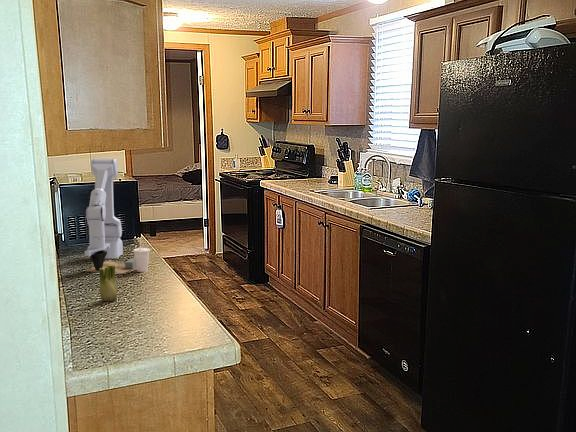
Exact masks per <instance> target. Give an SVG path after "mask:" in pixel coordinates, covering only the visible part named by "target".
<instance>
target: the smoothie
mask: <svg viewBox="0 0 576 432" xmlns="http://www.w3.org/2000/svg"><path fill="white" fill-rule="evenodd" d="M132 251H133V252H132V253H133V254H134V258H135V261H136V272H140V273H145V272H148V269H149V257H150V252H151V249H150V248H149V247H142V239H141V238H139V247H138V248H134V249H133V250H132Z"/></svg>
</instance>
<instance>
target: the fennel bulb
mask: <svg viewBox="0 0 576 432" xmlns="http://www.w3.org/2000/svg"><path fill="white" fill-rule="evenodd" d="M98 273H99V296H100V299H101V301H102V302H113V301H115V300H117V299H118V284H117V281H116V273H115V265H111V266H110V265H107V267H105V271H103V268H100V269H99V272H98Z"/></svg>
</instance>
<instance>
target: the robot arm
mask: <svg viewBox="0 0 576 432" xmlns="http://www.w3.org/2000/svg"><path fill="white" fill-rule="evenodd" d="M118 164H119V163H118V159H116V158H92V159H91V160H90V170H91V172H92V174H93V176H94V177H95V178H94V189H92V191H91V192H90V199H89V205H88V206H86V210H85V217H86V220H87V223H86V224H87V226H88V236H89V237H88V238H89V246H87V249H85V250H84V256H85V257H89V258H90V259H91V261H92V263H93V267H95V270H99V269H100V268H102V267H103V263H104V262H105V259H109V260H111V259H116V258H119V257H120V256H122V255H123V254H124V249H123V248H124V246H123V240H122V239H121V237H122V235H123V227H122V222H121V219H119V218H118V217H116V216H115V208H114V204H115V203H114V179H115V178H118V174H119V171H118V170H119V169H118V168H119V166H118Z"/></svg>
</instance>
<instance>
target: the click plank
mask: <svg viewBox="0 0 576 432" xmlns="http://www.w3.org/2000/svg"><path fill="white" fill-rule="evenodd" d="M125 262H126V261H115V260H106V261H104V263H103V267H102V268H103V271H105V267H107V265H110V266H111V265H115V267H117V266H119V265H121V264H123V263H125ZM85 272H93V273H95V272H96V273H100V272H99V270H95V267H94V266H93V267H90V268H88V269H86V270H85Z"/></svg>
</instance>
